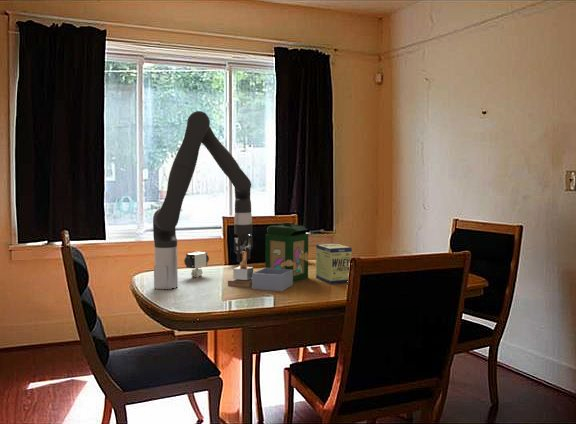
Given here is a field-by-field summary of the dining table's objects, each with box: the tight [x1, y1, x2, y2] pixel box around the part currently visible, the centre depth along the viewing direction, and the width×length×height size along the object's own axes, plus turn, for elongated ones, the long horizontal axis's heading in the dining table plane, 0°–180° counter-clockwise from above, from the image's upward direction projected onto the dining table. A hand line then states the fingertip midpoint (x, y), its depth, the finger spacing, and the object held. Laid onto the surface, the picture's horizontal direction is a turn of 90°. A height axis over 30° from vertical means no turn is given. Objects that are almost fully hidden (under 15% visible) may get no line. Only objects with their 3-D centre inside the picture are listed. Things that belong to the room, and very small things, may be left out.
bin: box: [251, 267, 294, 292], centre depth 237 cm, size 13×13×7 cm
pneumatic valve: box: [183, 250, 210, 278], centre depth 258 cm, size 6×12×12 cm, turn 146°
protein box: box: [315, 243, 353, 285], centre depth 251 cm, size 10×16×16 cm
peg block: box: [232, 250, 254, 280], centre depth 242 cm, size 6×6×12 cm
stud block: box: [227, 278, 252, 288], centre depth 243 cm, size 10×10×6 cm
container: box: [264, 222, 309, 283], centre depth 254 cm, size 15×18×25 cm
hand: (243, 260), depth 242 cm, fingers open, 8 cm apart
